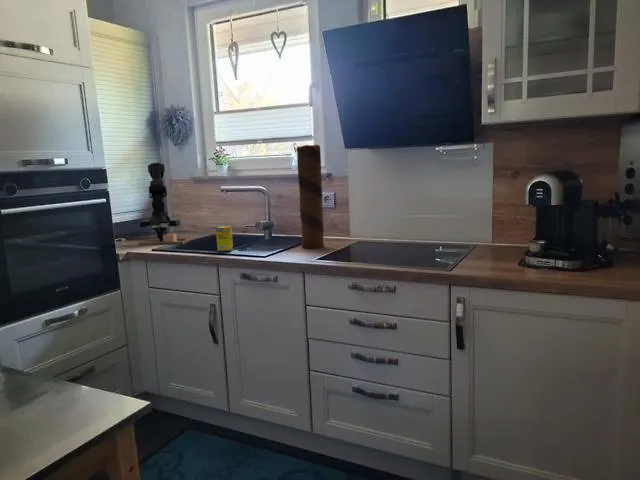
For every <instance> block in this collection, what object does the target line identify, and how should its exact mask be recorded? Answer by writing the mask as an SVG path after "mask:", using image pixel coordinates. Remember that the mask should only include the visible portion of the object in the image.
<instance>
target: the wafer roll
mask: <svg viewBox="0 0 640 480" xmlns="http://www.w3.org/2000/svg"><path fill="white" fill-rule="evenodd" d="M296 152H297V153H296V155H297V161H296V162H297V177H298V188H299V189H298V191H299V213H300V215H299V216H300V222H301V240H302V241H301V247H302V248H305V249H320V248H324V246H325V243H324V233H325V232H324V220H323V219H324V215H323V214H324V213H323V185H322V184H323V183H322V159H321V155H322V154H321V146H320V145H319V144H313V145H311V144H305V145H301V146H297V147H296Z"/></svg>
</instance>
